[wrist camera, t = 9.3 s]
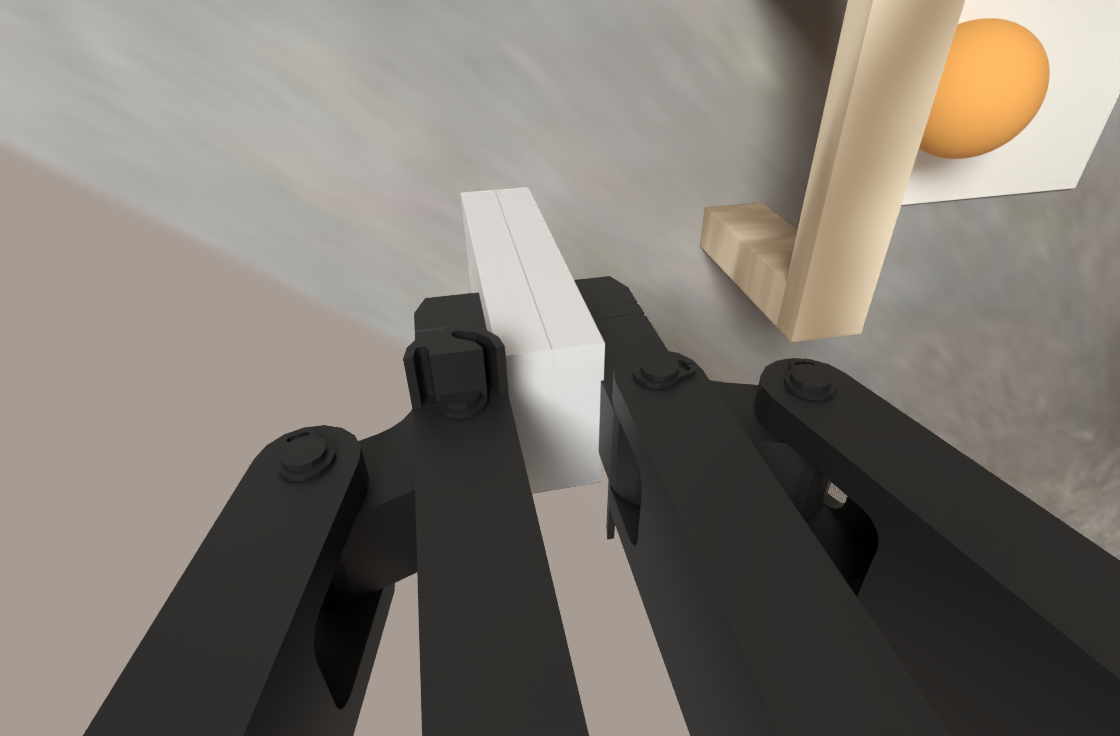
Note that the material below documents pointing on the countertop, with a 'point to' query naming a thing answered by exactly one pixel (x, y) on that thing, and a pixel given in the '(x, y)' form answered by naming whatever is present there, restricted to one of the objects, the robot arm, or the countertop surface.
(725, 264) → the bridge
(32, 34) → the countertop surface
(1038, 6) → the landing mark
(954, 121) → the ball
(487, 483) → the robot arm
